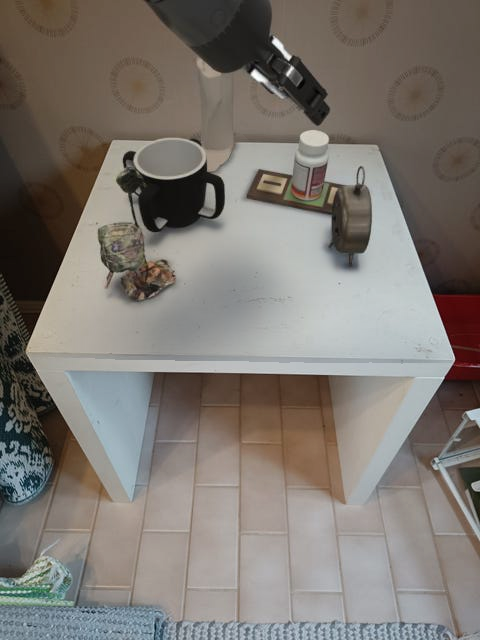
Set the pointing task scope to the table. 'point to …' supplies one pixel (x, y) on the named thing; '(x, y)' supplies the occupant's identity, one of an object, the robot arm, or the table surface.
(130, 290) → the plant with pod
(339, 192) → the alarm clock
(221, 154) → the candle
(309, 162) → the pill bottle
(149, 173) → the mug
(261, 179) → the board
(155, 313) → the table surface
